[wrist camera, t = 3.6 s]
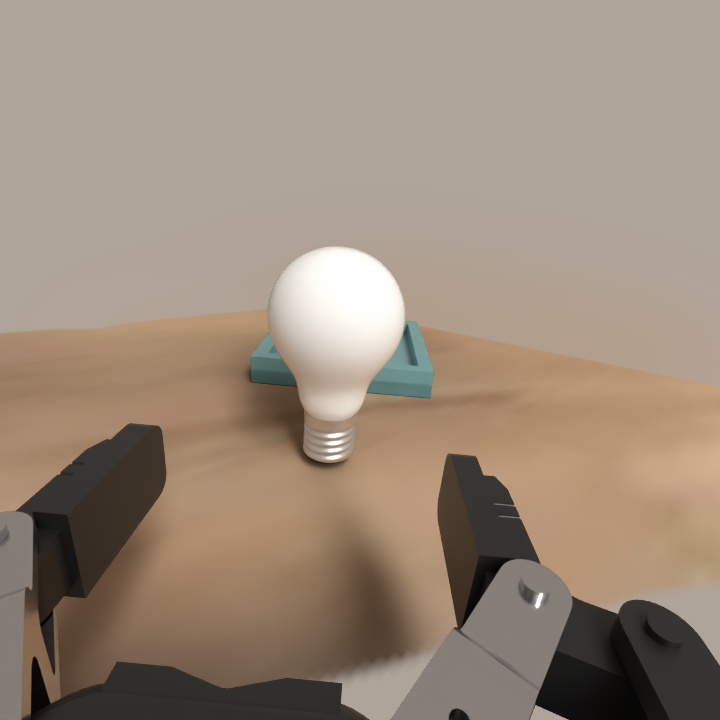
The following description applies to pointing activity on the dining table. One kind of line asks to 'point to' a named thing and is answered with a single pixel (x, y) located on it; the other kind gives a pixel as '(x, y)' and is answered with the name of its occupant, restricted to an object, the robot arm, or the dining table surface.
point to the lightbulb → (334, 339)
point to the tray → (398, 377)
